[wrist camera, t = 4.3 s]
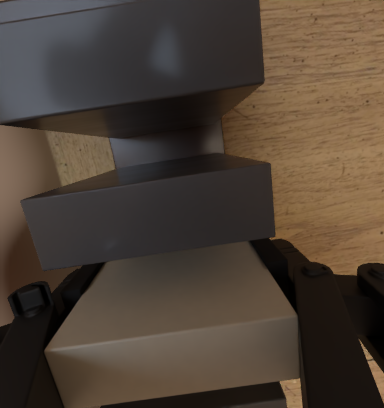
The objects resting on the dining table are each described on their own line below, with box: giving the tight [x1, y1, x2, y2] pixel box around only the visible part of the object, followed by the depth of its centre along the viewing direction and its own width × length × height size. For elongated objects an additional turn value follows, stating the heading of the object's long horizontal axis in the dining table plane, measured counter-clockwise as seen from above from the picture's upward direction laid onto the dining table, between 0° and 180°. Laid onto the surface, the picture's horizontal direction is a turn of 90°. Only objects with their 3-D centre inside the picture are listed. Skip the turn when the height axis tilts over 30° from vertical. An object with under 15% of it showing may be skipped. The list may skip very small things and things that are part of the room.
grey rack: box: [0, 0, 287, 408], centre depth 13 cm, size 18×8×12 cm, turn 8°
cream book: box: [44, 241, 300, 408], centre depth 12 cm, size 2×7×11 cm, turn 98°
